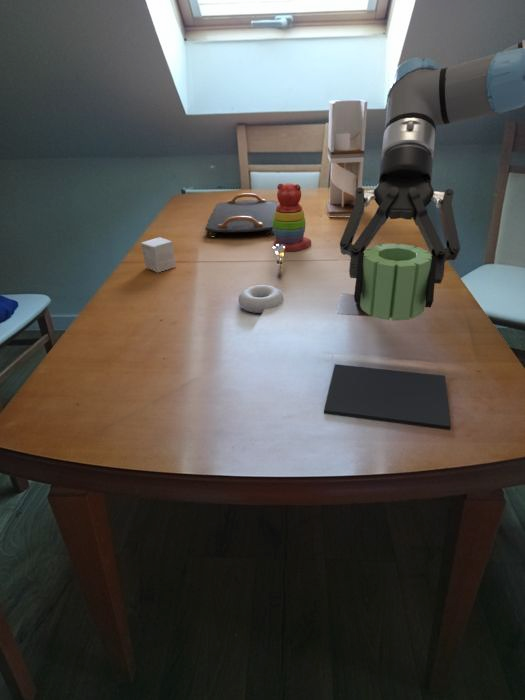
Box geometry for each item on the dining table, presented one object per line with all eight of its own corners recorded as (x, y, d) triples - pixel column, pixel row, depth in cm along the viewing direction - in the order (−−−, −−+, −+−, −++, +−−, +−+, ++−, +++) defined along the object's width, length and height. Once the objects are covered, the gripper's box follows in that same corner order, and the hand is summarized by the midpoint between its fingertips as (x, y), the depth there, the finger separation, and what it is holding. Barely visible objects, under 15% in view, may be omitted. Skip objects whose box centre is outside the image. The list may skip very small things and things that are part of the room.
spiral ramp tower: (326, 209, 170) (329, 101, 152) (355, 208, 170) (362, 99, 152) (328, 217, 161) (332, 103, 142) (359, 216, 160) (367, 101, 142)
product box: (145, 268, 126) (140, 242, 122) (163, 262, 130) (159, 236, 126) (157, 274, 122) (153, 247, 118) (176, 267, 126) (172, 240, 122)
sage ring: (422, 295, 71) (430, 244, 67) (424, 323, 64) (432, 268, 60) (363, 291, 74) (366, 242, 69) (357, 317, 66) (361, 264, 62)
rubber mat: (444, 378, 77) (445, 375, 76) (450, 429, 66) (451, 426, 66) (334, 366, 81) (334, 364, 81) (323, 413, 70) (323, 410, 70)
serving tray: (277, 238, 143) (277, 218, 140) (203, 240, 144) (200, 220, 141) (278, 206, 176) (277, 189, 173) (217, 208, 178) (215, 192, 174)
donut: (270, 293, 109) (231, 302, 105) (270, 279, 107) (230, 288, 103) (292, 309, 101) (250, 319, 97) (292, 294, 99) (250, 304, 96)
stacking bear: (313, 242, 138) (313, 180, 129) (301, 254, 131) (301, 188, 121) (279, 239, 142) (278, 178, 133) (266, 250, 135) (263, 186, 125)
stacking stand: (387, 302, 102) (391, 263, 97) (385, 324, 93) (390, 282, 89) (341, 299, 104) (343, 261, 99) (335, 320, 96) (337, 279, 91)
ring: (285, 280, 115) (284, 249, 111) (272, 280, 115) (271, 249, 111) (286, 269, 121) (285, 239, 117) (274, 270, 121) (273, 240, 117)
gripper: (332, 143, 69) (312, 286, 64) (491, 142, 63) (482, 297, 59) (335, 174, 76) (317, 304, 71) (479, 175, 71) (470, 316, 66)
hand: (392, 301), depth 65 cm, fingers closed on sage ring, 9 cm apart
